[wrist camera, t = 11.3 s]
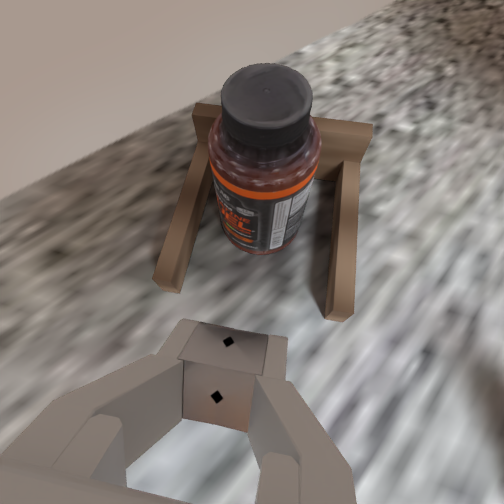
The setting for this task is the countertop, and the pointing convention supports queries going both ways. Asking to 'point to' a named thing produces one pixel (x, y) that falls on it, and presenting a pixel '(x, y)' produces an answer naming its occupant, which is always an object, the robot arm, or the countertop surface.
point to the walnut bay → (329, 168)
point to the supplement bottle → (264, 156)
